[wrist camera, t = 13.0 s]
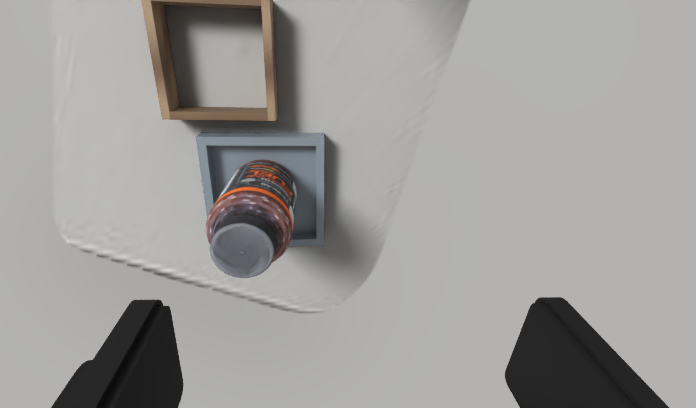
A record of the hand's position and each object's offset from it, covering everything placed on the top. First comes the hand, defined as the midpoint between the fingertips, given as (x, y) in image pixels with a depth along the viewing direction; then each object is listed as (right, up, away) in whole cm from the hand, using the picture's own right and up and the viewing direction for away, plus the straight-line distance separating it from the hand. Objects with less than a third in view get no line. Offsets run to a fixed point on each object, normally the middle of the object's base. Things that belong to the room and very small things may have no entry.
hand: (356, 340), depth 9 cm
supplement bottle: (-8, +5, +23) cm, 25 cm away
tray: (-8, +5, +24) cm, 25 cm away
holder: (-10, +15, +19) cm, 26 cm away
